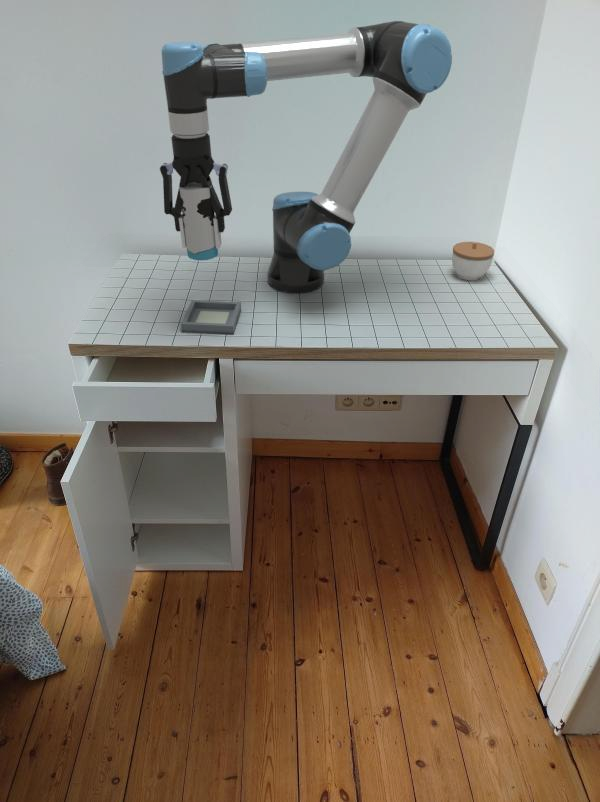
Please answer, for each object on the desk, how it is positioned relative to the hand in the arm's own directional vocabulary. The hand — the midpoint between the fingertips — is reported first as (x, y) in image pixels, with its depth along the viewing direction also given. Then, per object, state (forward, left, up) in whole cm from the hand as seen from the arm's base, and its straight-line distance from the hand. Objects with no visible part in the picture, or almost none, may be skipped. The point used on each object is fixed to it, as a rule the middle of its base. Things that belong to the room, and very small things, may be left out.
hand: (202, 245), depth 133 cm
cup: (0, 0, -2) cm, 2 cm away
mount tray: (-1, 0, -19) cm, 19 cm away
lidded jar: (-66, -32, -19) cm, 76 cm away
